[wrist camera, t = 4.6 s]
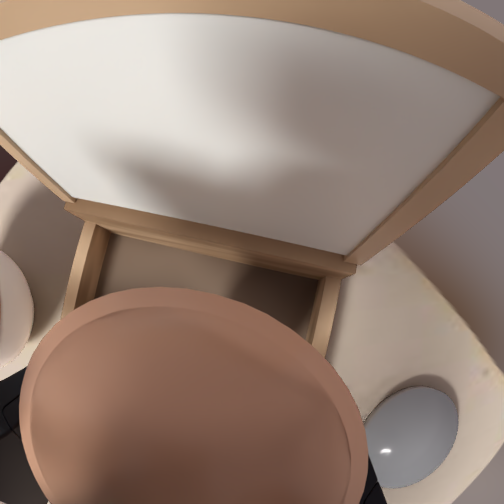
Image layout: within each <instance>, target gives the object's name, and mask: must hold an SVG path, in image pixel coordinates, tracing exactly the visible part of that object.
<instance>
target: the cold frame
mask: <svg viewBox="0 0 504 504" xmlns="http://www.w3.org/2000/svg"><path fill="white" fill-rule="evenodd" d="M64 209H65V210H66V211H68V212H70V213H71V214H73V215H75V216H77V217H78V218H80V219H82V220H84V221H85V222H84V226H83V229H82V232H81V236H80V239H79V243H78V246H77V250H76V254H75V257H74V261H73V265H72V269H71V273H70V277H69V281H68V286H67V290H66V295H65V299H64V304H63V309H62V314H61V319H62V318H64V317H65V316H66V315H67V314H69V313H70V312H71V311H73V310H75V309H77V308H78V307H80V306H82V305H84V304H85V303H87V302H89V301H91V300H94V299H97V298H99V297H102V296H105V295H107V294H110V293H115V292H119V291H124V290H129V289H134V288H147V287H172V288H187V289H192V290H197V291H202V292H207V293H213V294H216V295H220V296H223V297H226V298H229V299H232V300H235V301H238V302H241V303H244V304H247V305H249V306H251V307H254V308H256V309H258V310H260V311H262V312H264V313H266V314H268V315H270V316H271V317H273V318H274V319H276V320H278V321H279V322H281V323H282V324H284V325H286V326H287V327H289V328H290V329H292V330H293V331H294V332H296V333H297V334H298V335H299V336H301V337H302V338H303V339H304V340H306V341H307V342H308V343H309V344H311V345H312V346H313V347H314V348H315V349H316V350H317V351H318V352H319V353H320V354H321V355H322V356H323V357H324V358H325V355H326V351H327V346H328V342H329V338H330V333H331V329H332V324H333V320H334V315H335V310H336V305H337V300H338V295H339V290H340V285H341V280H342V279H343V278H346V277H348V276H351V275H353V274H355V273H356V267H357V264H352V263H348V262H344V255H342V254H338V253H333V252H329V251H325V250H320V249H316V248H311V247H307V246H302V245H298V244H294V243H289V242H285V241H280V240H276V239H271V238H267V237H262V236H258V235H253V234H248V233H244V232H239V231H235V230H230V229H225V228H221V227H216V226H211V225H207V224H202V223H197V222H192V221H188V220H183V219H178V218H173V217H169V216H164V215H159V214H154V213H149V212H144V211H139V210H135V209H130V208H125V207H120V206H115V205H110V204H105V203H100V202H95V201H89V200H84V199H79V198H76V201H75V203H71V202H66V203H65V206H64Z"/></svg>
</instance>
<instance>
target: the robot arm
mask: <svg viewBox="0 0 504 504" xmlns="http://www.w3.org/2000/svg"><path fill="white" fill-rule="evenodd" d="M26 369H27V367H25V368H24V369H22V370H20V371H18V372H17V373H15V374H13V375H11V376H10V377H8V378H6V379H4V380H2V381H0V504H47V503H48V499H47V498H46V496H45V495H44V493H43V491H42V490H41V488H40V486H39V484H38V482H37V481H36V479H35V477H34V474H33V472H32V470H31V467H30V465H29V463H28V460H27V457H26V453H25V450H24V446H23V443H22V437H21V431H20V423H19V402H20V392H21V386H22V382H23V378H24V375H25V371H26ZM377 481H378V478H377V476H376V473H375V470H374V467H373V465H372V462H371V459H370V457H369V454H368V473H367V478H366V483H365V487H364V492H363V494H362V497H361V499H360V502H359V504H387V502H386V500H385V497H384V495H383V492H382V489H381V487H380V484H379V482H377Z"/></svg>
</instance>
